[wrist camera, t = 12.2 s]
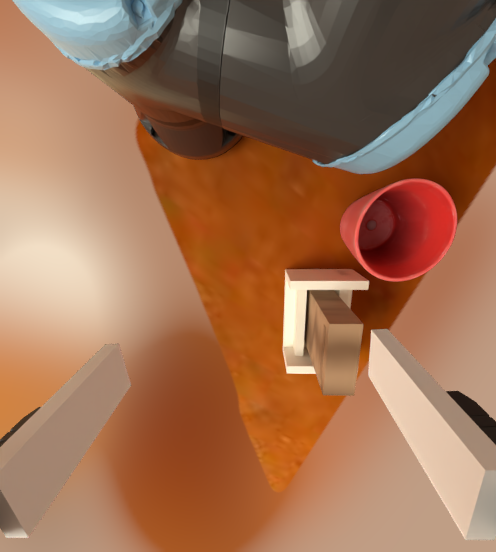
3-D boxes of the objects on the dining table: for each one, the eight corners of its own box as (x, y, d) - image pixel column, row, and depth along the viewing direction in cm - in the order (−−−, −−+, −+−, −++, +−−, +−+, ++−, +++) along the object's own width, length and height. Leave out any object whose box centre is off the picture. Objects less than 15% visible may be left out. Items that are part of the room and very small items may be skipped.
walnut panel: (326, 340, 40) (354, 395, 28) (303, 339, 40) (322, 395, 29) (331, 286, 37) (364, 324, 26) (306, 286, 38) (329, 323, 26)
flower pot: (422, 215, 35) (482, 220, 26) (367, 275, 38) (403, 299, 29) (367, 167, 34) (409, 154, 24) (313, 233, 36) (333, 244, 27)
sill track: (285, 269, 38) (290, 281, 32) (352, 269, 38) (369, 281, 32) (282, 349, 42) (286, 373, 36) (343, 350, 42) (357, 374, 36)
